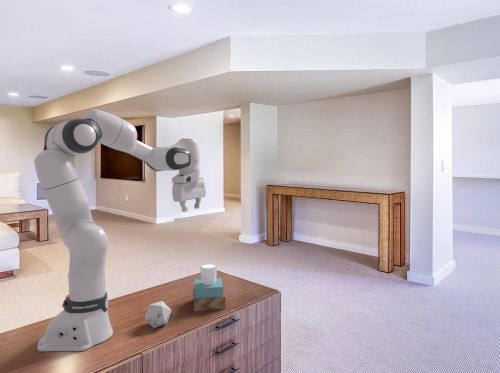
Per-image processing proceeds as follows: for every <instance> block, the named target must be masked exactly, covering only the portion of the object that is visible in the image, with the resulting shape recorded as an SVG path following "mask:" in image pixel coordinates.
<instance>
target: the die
mask: <svg viewBox="0 0 500 373" xmlns="http://www.w3.org/2000/svg"><path fill="white" fill-rule="evenodd" d="M171 313H172V309H171V308H170V307H169V306H168V305H167V304H166V303H165V302H164V301H163V300H161V301H157V302H154V303H151V304H149V305H148V306H147V310H146V313H145V316H144V320H146V321H147V323H148V324H149V325H150V326H151V327H152V328H153V329H156V328H159V327H161V326H165V325H167V324H168V323H169V320H170V316H171Z"/></svg>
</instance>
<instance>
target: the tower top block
mask: <svg viewBox="0 0 500 373" xmlns="http://www.w3.org/2000/svg"><path fill="white" fill-rule="evenodd" d="M193 289H194V296H195V299H201V298H214V297H223V292H224V286H223V281H222V277H216V283H215V284H214V285H203V284H202V279H201V278H199V279H198V278H197V279H194V288H193ZM194 296H193V297H194Z"/></svg>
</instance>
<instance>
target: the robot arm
mask: <svg viewBox="0 0 500 373" xmlns="http://www.w3.org/2000/svg"><path fill="white" fill-rule="evenodd" d="M44 135H45V136H44V145H43V150H42V151H41V152H39V153H38V154H37V155H36V156H35V158H34V160H33V163H34V168H35V172H36V176H37V180H38V182H39V185H40V188H41V190H42V193H43V194H44V197H45V199H46V201H47V204H48V206H49V208H50V210H51V213H52V215H53V218H54V221H55V224H56V227H57V229H58V233H59V234H60V237H61V239H62V242H63V244H64V246H65V247H66V249H68V252H69V267H68V274H67V283H68V294H67V295H66V296H65V297H64V298H65V299H64V300H63V303H62V305H61V308H63V310H62V311H60V312H59V313H58V314H57V315H56V316H54V317H53V318H52V319H51V320H50V321H49V323H47V326H46V329H45V334H44V335H43V336H42V337H41V338H39V340H38V343H37V347H36V348H37V351H38V352H82V351H86V350H88V349H90V348H92V347H93V346H96V345H98V344H101V343H103V342H105V341H107V340H108V339H110V338H111V337H112V336H113V334H114V330H113V327H112V324H111V321H110V317H109V312H108V311H109V310H108V309H109V297H108V292H107V290H106V274H105V273H106V270H105V269H106V268H105V267H106V262H107V250H108V247H109V238H108V235H107V233H106V231H105V230H104V229H103V227H101V226H99V225H98V224H96V222H95V221H94V218H93V215H92V211H91V207H90V203H89V201H90V200H89V198H88V195H87V193H86V191H85V189H84V186H83V183H82V181H81V178H80V176H79V173H78V172H77V169H76V166H75V158H76V157H77V156H80V155H83V154H88V153H89V152H91V151H93V149H95V148H96V146H97V145H98V143H99V144H102V145H104V146H106V147H108V148H111V149H114V150H117V151H120V152H123V153H127V154H128V155H130V156H133V157H135V158H137V159H139V160H140V161H141V162H143V163H144V164H146V166H148V167H149V168H150V169H151V170H152V171H154V172H163V171H169V172H171V171H178V173H177V174H176V175H175V176H172V178H171V183H172V188H171V190H172V191H171V192H172V200H173V201H174V202H176V203H177V202H178V203H179V205H180V207H181V212H183V213H186V212H188V207H187V206H186V203H187V201H190V200H195V201H194V202H195V203H194V204H193V206H194V207H193V208H194V209H196V210H197V209H200V204H201V199H202V198H205V197H206V194H207V192H206V191H207V190H206V185H205V184H206V183H205V181H204V179H203V177H202V176H201V169H200V165H199V163H200V149H199V144H198V142H197V141H196V140H195V139H191V138H181V139H180V138H179V140H178V141H177V142H176V143H175V144H172V145H169V146H165V147H161V146H160V147H159V146H157V147H155V146H154V147H153V146H152V147H151V146H149V145H147V144H145V143H143V142H142V141H139V140H137V139H138V132H137V129H136V127H135V126H134V125H133V124H131V122H129V121H127V120H125V119H123V118H122V117H119V116H117V115H115V114H113V113H110V112H108V111H104V110H101V109H97V108H91V109H90V108H89V109H88V110H86V111H85V112H84V113H83V114H82V116H81V118H74V119H71V120H66V121H65V120H64V121H62V122H60V123H58V124H56V125H54V126H52V127H50V128H49V129H48V130H47V132H46V133H45V134H44Z"/></svg>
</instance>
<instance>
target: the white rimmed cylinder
mask: <svg viewBox="0 0 500 373" xmlns="http://www.w3.org/2000/svg"><path fill="white" fill-rule="evenodd" d="M217 268H218V264H215V263H205V264H201V265H200V266H199V270H200V276H201V277H200V279H202V284H203V285H214V284H215V283H216V278H217V275H218V274H217V270H218V269H217Z"/></svg>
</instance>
